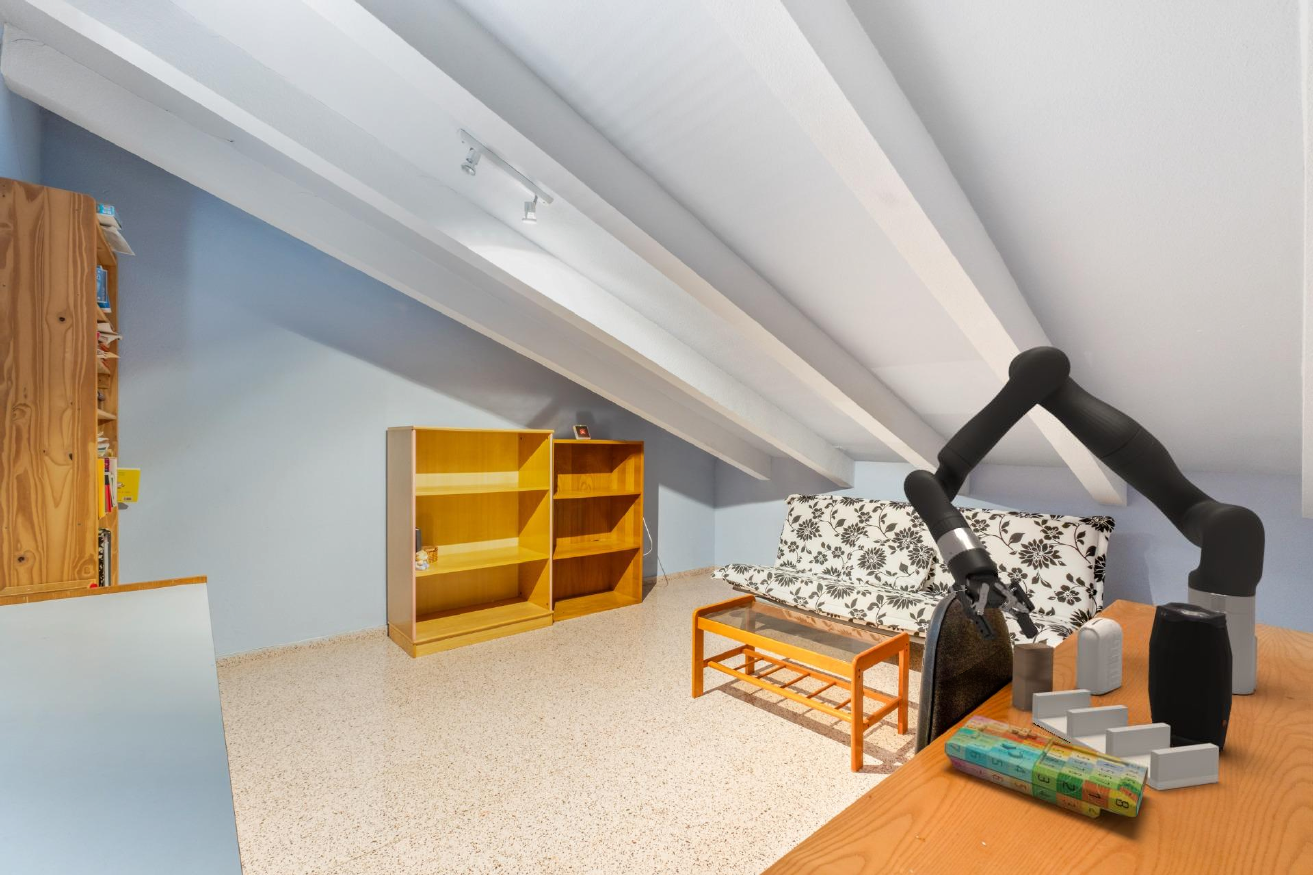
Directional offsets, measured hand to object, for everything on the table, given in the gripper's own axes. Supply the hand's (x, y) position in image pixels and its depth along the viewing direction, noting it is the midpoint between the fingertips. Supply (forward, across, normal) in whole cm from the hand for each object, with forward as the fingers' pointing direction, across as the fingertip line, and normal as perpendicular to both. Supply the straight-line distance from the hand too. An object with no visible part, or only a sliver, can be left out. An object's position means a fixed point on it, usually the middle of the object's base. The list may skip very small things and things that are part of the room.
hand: (1012, 637), depth 107 cm
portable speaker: (+21, +13, -6) cm, 25 cm away
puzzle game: (+24, -18, -10) cm, 32 cm away
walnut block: (+10, 0, +4) cm, 11 cm away
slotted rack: (+20, 0, -6) cm, 21 cm away
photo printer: (+7, +19, +7) cm, 22 cm away
